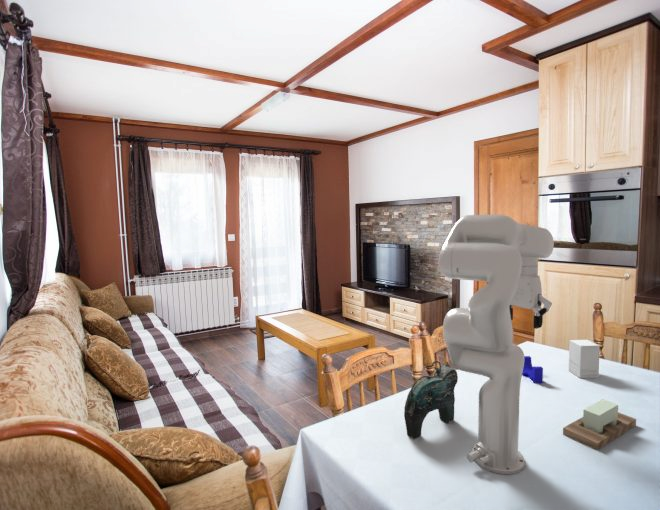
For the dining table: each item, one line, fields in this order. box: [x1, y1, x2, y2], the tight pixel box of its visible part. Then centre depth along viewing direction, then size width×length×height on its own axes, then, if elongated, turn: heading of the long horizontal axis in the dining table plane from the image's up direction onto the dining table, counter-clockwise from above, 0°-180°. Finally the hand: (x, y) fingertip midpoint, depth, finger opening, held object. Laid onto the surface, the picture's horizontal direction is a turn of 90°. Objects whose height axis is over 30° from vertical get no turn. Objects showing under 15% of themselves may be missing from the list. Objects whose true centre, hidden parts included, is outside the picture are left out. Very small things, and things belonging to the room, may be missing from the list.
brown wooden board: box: [562, 411, 637, 451], centre depth 112 cm, size 22×9×2 cm, turn 120°
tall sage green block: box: [582, 399, 619, 435], centre depth 112 cm, size 11×4×7 cm, turn 121°
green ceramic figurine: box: [403, 360, 459, 440], centre depth 115 cm, size 20×6×20 cm, turn 123°
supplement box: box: [568, 339, 601, 379], centre depth 149 cm, size 7×7×13 cm
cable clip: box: [522, 355, 544, 384], centre depth 149 cm, size 12×4×6 cm, turn 174°
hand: (522, 324), depth 122 cm, fingers open, 9 cm apart
